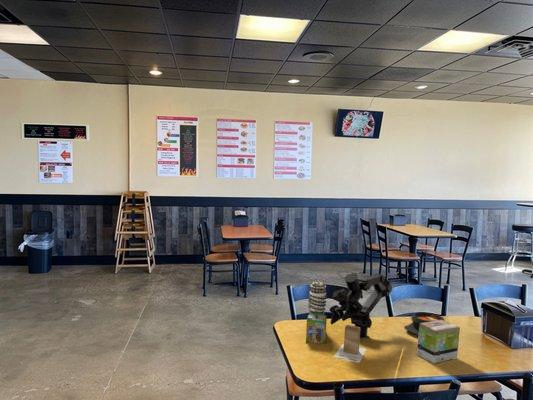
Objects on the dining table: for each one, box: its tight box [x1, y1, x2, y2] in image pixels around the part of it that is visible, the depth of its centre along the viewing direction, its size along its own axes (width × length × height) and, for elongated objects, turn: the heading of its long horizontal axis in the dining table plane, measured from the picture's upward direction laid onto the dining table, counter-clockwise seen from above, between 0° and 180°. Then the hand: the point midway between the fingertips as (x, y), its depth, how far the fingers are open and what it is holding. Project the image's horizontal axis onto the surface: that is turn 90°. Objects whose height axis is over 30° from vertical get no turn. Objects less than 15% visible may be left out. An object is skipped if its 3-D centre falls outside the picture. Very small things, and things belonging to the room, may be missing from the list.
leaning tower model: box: [307, 281, 328, 315], centre depth 201 cm, size 9×9×25 cm
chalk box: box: [305, 309, 328, 345], centre depth 190 cm, size 9×9×15 cm
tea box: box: [416, 319, 461, 364], centre depth 179 cm, size 15×10×15 cm, turn 117°
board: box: [333, 343, 367, 364], centre depth 176 cm, size 16×11×1 cm
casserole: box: [404, 311, 446, 336], centre depth 208 cm, size 25×19×8 cm
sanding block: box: [343, 324, 361, 355], centre depth 177 cm, size 4×6×11 cm, turn 66°
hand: (336, 322), depth 179 cm, fingers open, 9 cm apart
